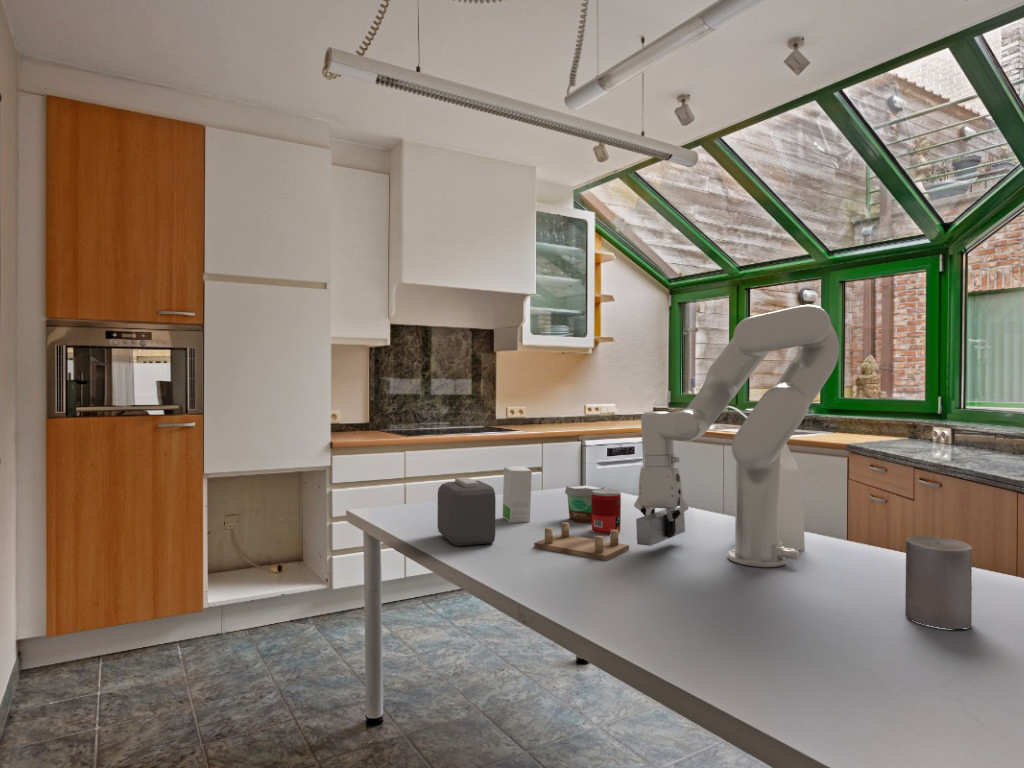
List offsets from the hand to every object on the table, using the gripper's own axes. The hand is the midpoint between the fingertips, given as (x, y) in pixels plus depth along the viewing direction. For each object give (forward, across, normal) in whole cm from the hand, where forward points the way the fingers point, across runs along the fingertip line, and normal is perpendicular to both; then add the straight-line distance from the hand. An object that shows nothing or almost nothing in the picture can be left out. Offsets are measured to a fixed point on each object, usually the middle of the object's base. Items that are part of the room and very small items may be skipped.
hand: (661, 535), depth 161 cm
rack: (+3, +16, +11) cm, 20 cm away
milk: (+5, -20, -23) cm, 31 cm away
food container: (+2, +32, -17) cm, 36 cm away
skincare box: (+1, +48, -7) cm, 49 cm away
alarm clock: (+1, +46, +22) cm, 50 cm away
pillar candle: (+7, -57, +17) cm, 60 cm away
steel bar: (+1, 0, 0) cm, 1 cm away
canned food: (+3, +20, -10) cm, 23 cm away
